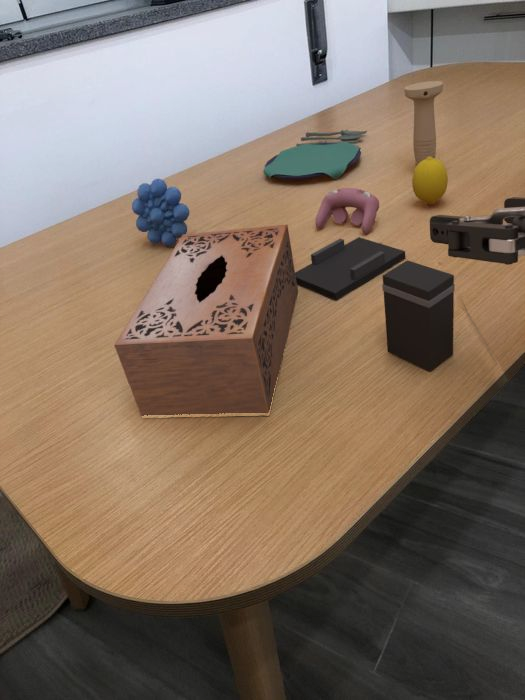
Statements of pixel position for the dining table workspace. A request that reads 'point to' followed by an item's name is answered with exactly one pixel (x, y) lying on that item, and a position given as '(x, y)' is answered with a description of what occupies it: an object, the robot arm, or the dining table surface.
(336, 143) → the cutlery set
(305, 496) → the dining table surface
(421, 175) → the lemon
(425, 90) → the handle
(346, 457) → the dining table surface
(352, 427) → the dining table surface
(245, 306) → the tissue box cover
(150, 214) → the grapes
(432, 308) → the upright box
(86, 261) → the dining table surface
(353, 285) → the base pad
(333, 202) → the video game controller
